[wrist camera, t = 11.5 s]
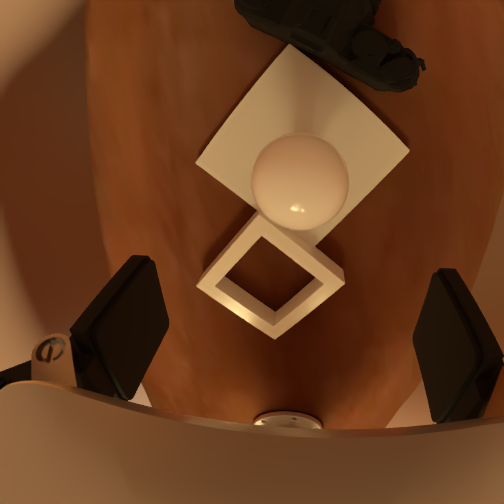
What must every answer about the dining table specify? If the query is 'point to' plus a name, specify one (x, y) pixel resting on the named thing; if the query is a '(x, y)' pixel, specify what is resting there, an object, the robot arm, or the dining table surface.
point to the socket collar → (249, 306)
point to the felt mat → (302, 120)
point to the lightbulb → (299, 181)
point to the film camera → (338, 38)
